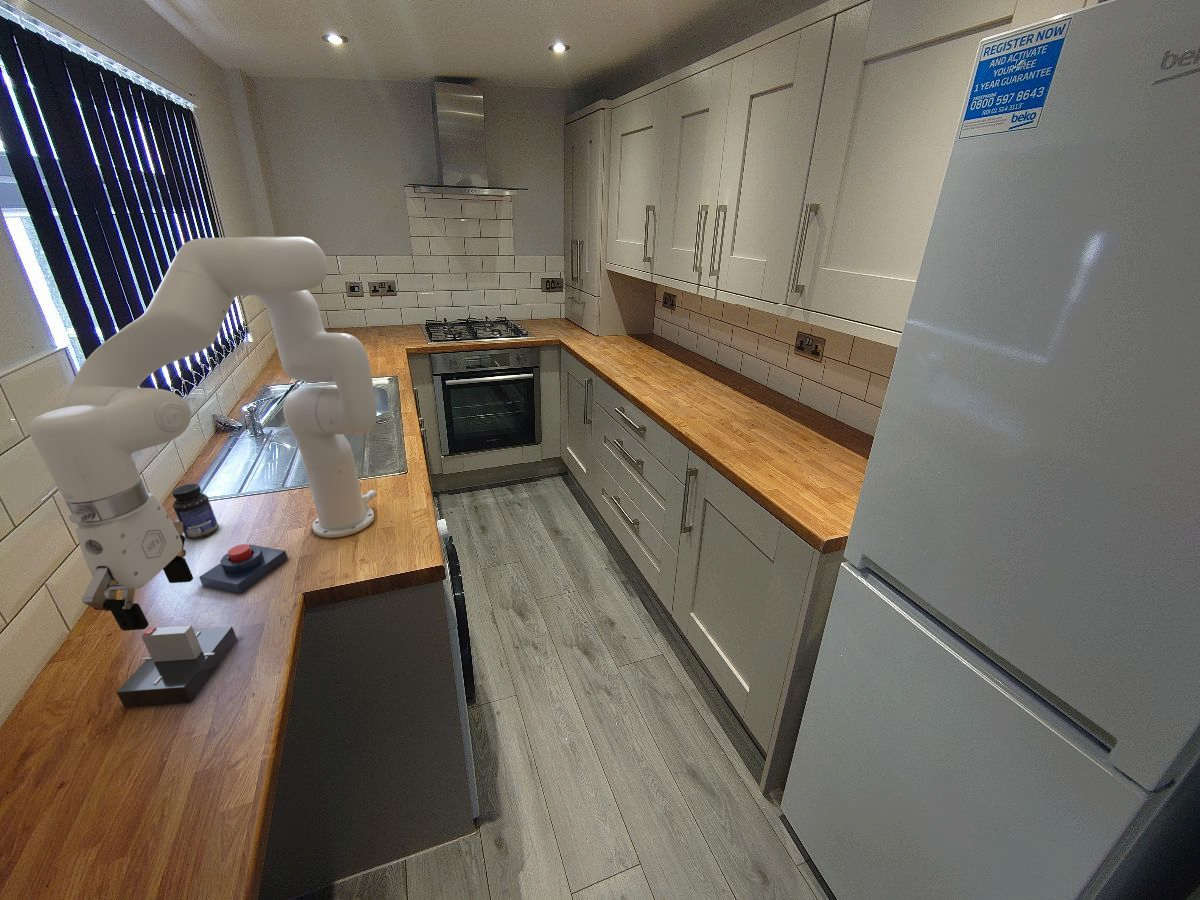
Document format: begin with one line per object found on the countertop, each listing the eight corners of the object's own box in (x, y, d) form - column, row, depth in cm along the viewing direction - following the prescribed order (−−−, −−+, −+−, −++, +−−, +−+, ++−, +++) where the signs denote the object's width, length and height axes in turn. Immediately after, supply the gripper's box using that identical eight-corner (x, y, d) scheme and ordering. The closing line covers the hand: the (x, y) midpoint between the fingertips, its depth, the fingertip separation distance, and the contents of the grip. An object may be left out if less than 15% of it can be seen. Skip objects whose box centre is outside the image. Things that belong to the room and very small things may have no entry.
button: (242, 550, 102) (239, 542, 101) (256, 553, 101) (254, 545, 101) (225, 561, 99) (222, 553, 98) (240, 563, 98) (238, 556, 97)
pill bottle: (226, 527, 117) (210, 483, 112) (199, 542, 111) (181, 497, 107) (205, 523, 119) (189, 480, 114) (178, 538, 113) (160, 493, 109)
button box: (252, 553, 108) (246, 536, 106) (288, 559, 105) (283, 542, 104) (202, 586, 98) (195, 569, 96) (240, 594, 96) (234, 576, 94)
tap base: (176, 644, 84) (169, 629, 83) (241, 640, 85) (236, 625, 84) (119, 708, 73) (110, 691, 72) (195, 702, 74) (188, 686, 73)
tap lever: (202, 651, 79) (191, 623, 77) (196, 659, 77) (184, 631, 75) (160, 654, 79) (148, 626, 76) (153, 662, 77) (140, 634, 75)
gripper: (87, 537, 60) (145, 647, 67) (183, 468, 76) (222, 564, 83) (17, 541, 60) (83, 652, 67) (128, 471, 75) (172, 567, 83)
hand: (160, 603), depth 75 cm, fingers open, 9 cm apart
